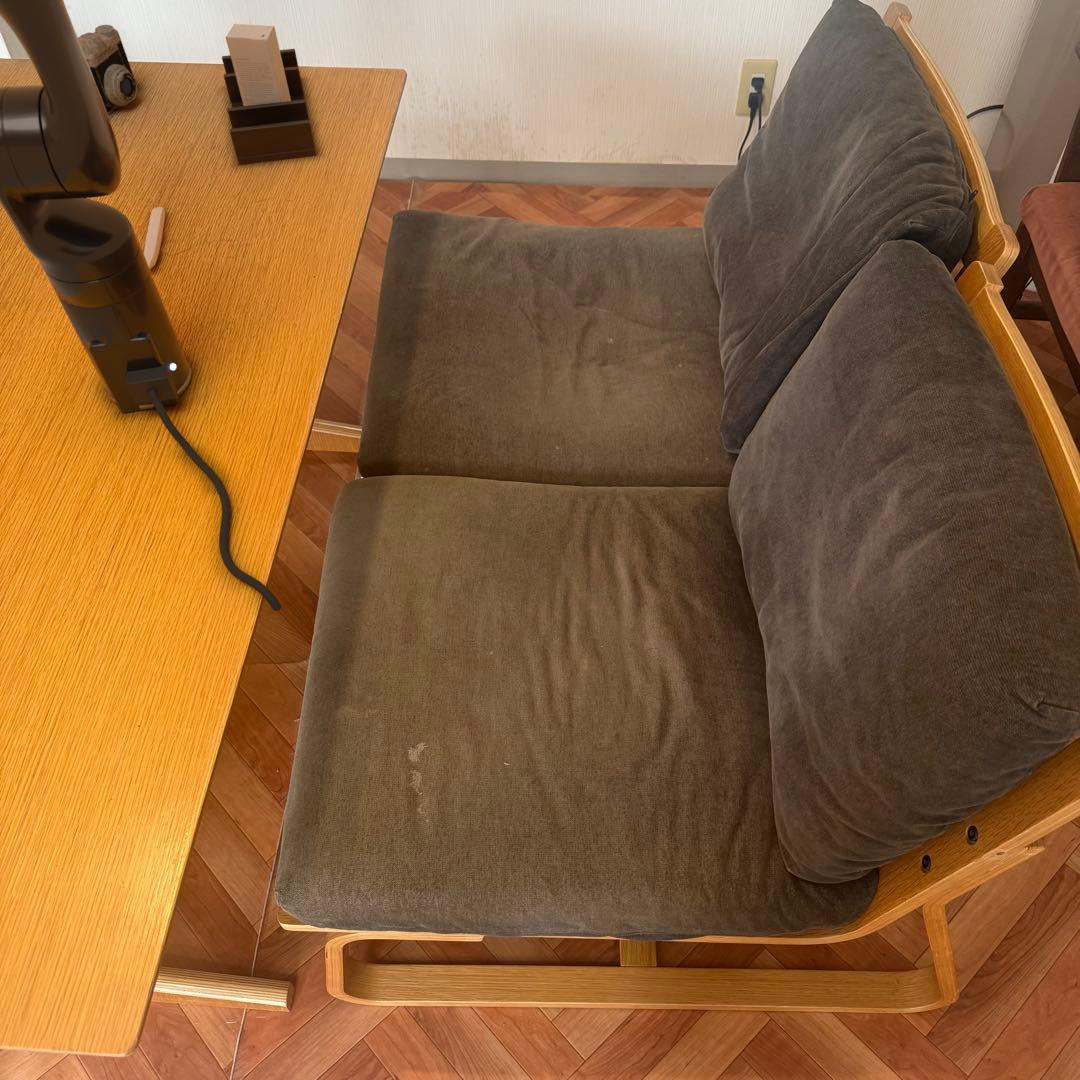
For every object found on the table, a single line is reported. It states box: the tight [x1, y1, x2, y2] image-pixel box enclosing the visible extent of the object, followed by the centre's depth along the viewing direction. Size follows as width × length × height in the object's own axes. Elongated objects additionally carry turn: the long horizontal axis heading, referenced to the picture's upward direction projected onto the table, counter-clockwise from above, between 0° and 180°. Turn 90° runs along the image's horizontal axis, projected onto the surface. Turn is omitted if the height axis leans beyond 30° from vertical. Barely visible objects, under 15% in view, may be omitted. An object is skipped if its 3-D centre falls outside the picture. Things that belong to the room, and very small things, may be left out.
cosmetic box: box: [225, 23, 291, 106], centre depth 129 cm, size 6×4×12 cm
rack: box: [221, 48, 317, 166], centre depth 133 cm, size 22×11×5 cm, turn 15°
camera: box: [77, 24, 139, 114], centre depth 132 cm, size 15×7×10 cm, turn 162°
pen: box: [143, 206, 166, 270], centre depth 116 cm, size 2×14×2 cm, turn 8°
